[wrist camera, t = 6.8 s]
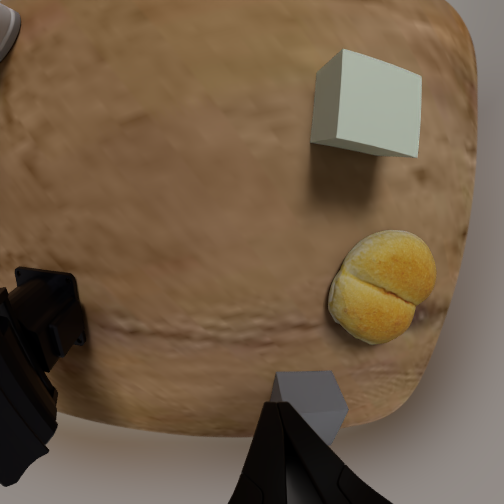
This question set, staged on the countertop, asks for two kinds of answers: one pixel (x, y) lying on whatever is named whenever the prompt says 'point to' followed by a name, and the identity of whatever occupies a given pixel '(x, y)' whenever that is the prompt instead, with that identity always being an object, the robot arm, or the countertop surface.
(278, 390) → the charcoal block
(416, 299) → the bread roll
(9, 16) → the travel mug
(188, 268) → the countertop surface
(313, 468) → the robot arm
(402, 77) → the sage block
